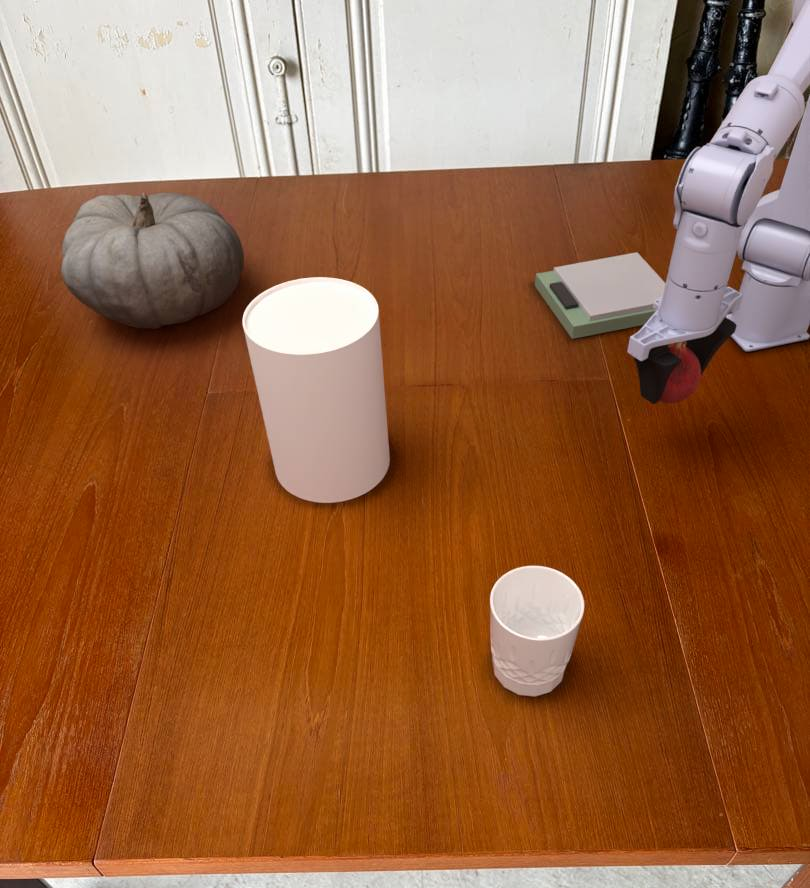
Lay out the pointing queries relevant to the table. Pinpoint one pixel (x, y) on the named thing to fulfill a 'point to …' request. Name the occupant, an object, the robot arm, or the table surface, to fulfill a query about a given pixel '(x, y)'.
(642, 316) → the scale
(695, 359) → the onion
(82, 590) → the table surface
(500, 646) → the white cup
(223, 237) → the gourd
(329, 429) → the canister
